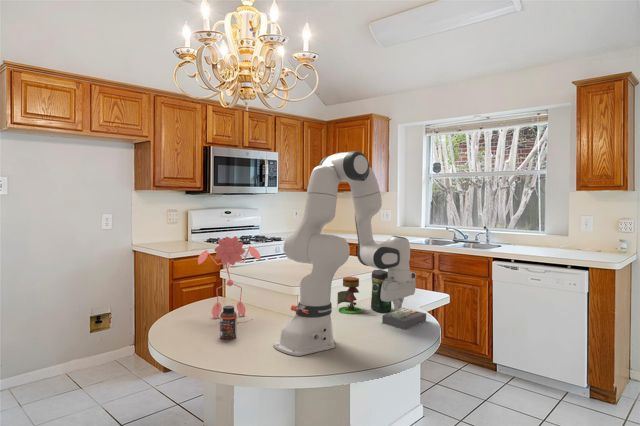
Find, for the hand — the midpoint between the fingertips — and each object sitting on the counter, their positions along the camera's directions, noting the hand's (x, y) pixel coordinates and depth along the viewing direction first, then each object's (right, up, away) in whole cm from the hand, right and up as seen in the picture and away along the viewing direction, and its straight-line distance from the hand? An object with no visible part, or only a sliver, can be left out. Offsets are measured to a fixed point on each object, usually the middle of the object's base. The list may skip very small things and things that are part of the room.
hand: (397, 308), depth 176 cm
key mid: (+3, -4, +4) cm, 6 cm away
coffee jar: (-4, -6, +22) cm, 23 cm away
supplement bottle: (-66, -7, -18) cm, 69 cm away
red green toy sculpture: (-18, -6, +20) cm, 28 cm away
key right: (+7, -5, +7) cm, 11 cm away
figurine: (-70, -6, +5) cm, 70 cm away
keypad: (+3, -7, +4) cm, 8 cm away
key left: (0, -4, 0) cm, 4 cm away
